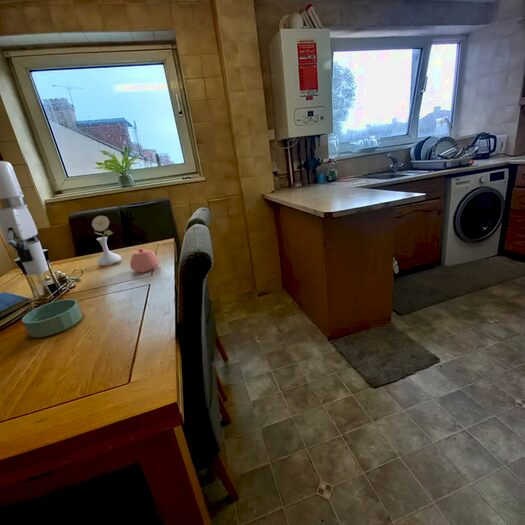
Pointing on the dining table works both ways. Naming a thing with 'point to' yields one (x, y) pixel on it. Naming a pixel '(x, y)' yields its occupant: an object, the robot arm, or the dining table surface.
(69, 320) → the teal pet bowl
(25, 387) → the dining table surface
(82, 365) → the dining table surface
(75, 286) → the dining table surface
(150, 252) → the sugar bowl
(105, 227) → the flower in vase
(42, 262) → the white cup
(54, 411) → the dining table surface
